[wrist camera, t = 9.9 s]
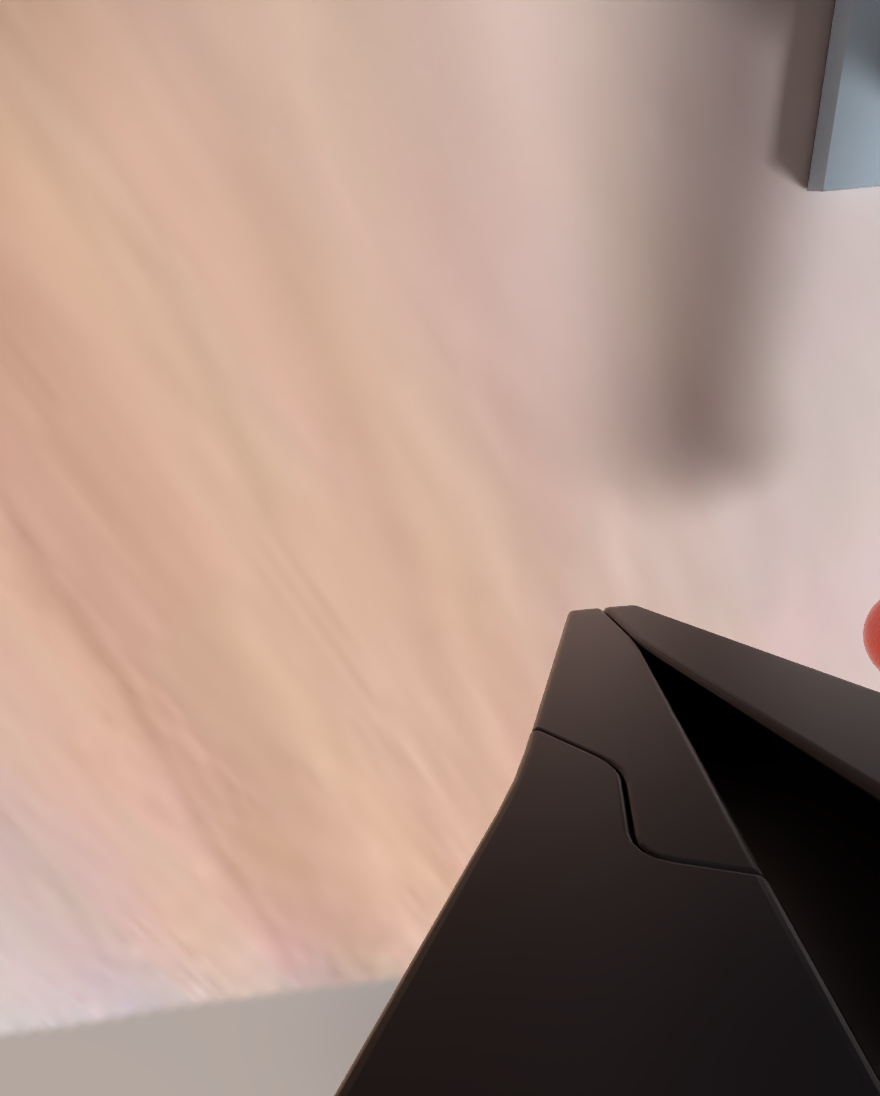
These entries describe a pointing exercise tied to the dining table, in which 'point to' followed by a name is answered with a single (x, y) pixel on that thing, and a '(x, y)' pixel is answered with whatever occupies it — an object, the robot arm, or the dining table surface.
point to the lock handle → (873, 635)
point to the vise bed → (849, 102)
